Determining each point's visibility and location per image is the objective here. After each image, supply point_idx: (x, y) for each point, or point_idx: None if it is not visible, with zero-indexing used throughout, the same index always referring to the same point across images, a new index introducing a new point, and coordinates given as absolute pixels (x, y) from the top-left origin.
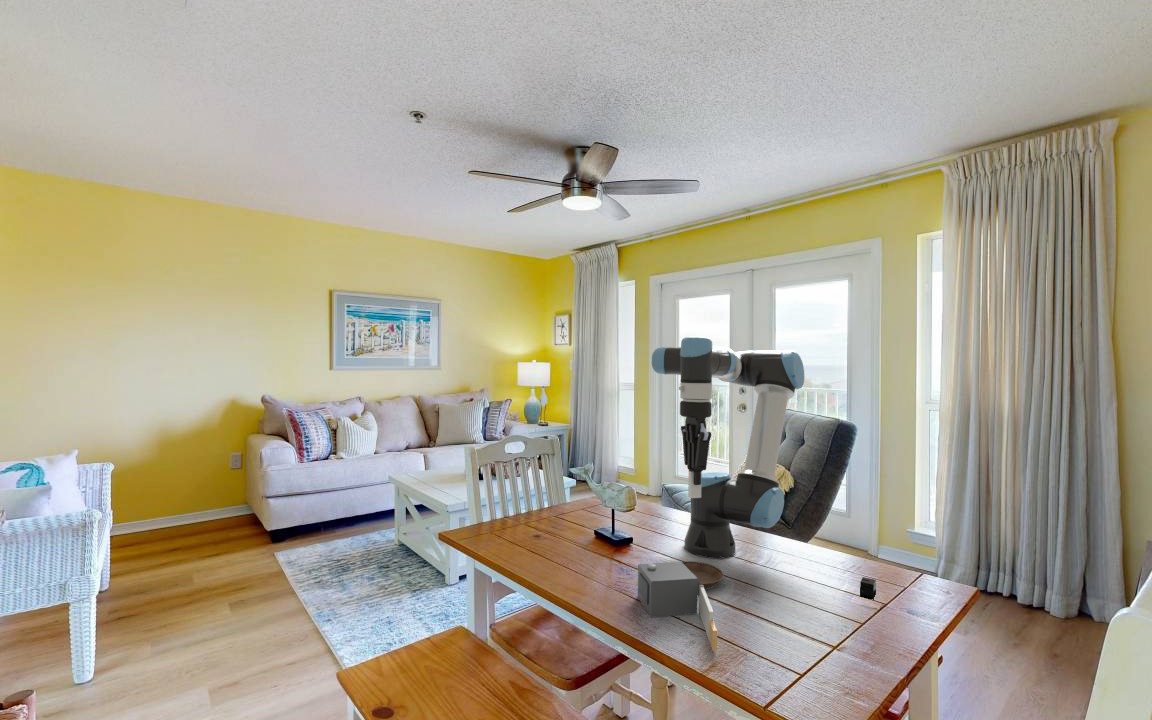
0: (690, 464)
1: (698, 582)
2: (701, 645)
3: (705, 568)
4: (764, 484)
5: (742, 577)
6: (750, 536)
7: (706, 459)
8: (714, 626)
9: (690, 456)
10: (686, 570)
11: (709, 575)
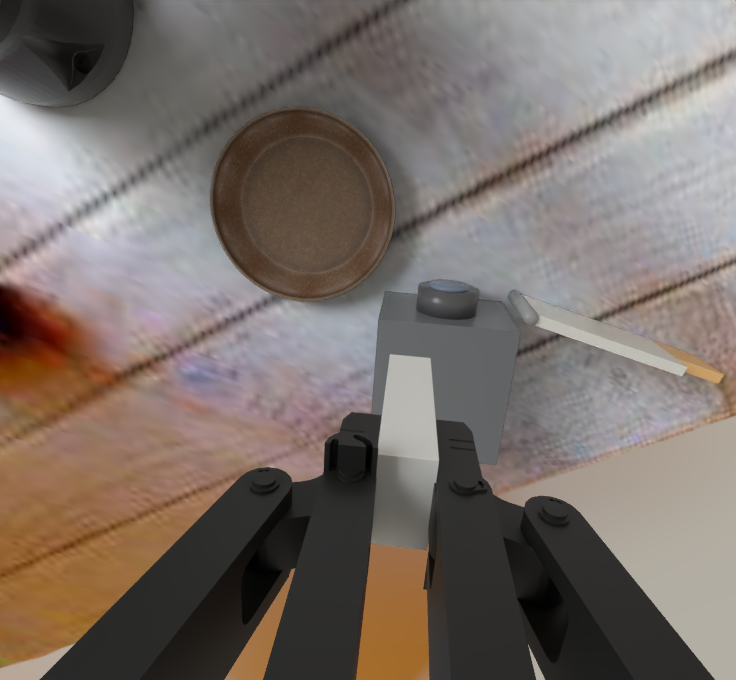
0: (367, 571)
1: (474, 296)
2: (640, 364)
3: (252, 138)
4: None
5: (310, 15)
6: None
7: (655, 618)
8: (702, 370)
9: (358, 653)
10: (453, 336)
11: (283, 139)
